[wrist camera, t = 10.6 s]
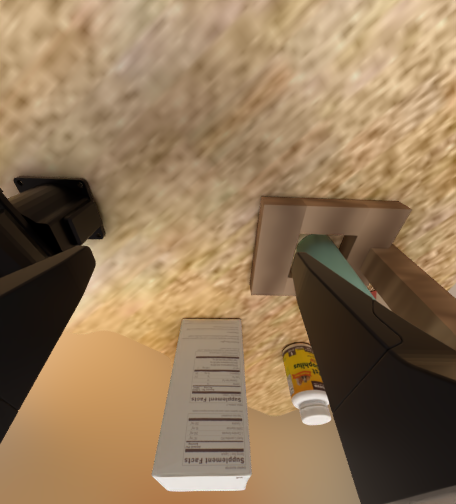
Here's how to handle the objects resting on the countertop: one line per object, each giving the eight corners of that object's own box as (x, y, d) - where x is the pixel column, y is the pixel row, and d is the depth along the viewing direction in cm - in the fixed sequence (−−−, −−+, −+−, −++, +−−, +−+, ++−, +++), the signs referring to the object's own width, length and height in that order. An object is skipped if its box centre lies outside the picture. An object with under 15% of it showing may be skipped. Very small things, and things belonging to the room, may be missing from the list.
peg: (289, 252, 25) (348, 393, 13) (314, 227, 23) (410, 365, 11) (313, 266, 27) (387, 406, 14) (339, 243, 25) (449, 384, 12)
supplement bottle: (317, 341, 36) (343, 413, 28) (308, 358, 40) (330, 427, 31) (284, 341, 36) (301, 413, 28) (278, 358, 39) (292, 427, 31)
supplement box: (181, 317, 32) (147, 477, 19) (242, 317, 32) (253, 476, 19) (187, 351, 38) (165, 493, 24) (239, 351, 38) (246, 493, 24)
